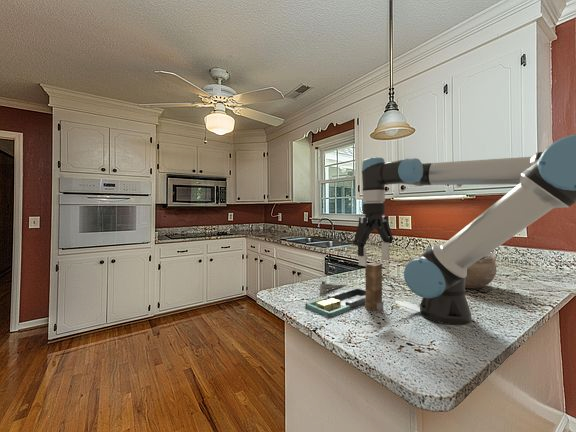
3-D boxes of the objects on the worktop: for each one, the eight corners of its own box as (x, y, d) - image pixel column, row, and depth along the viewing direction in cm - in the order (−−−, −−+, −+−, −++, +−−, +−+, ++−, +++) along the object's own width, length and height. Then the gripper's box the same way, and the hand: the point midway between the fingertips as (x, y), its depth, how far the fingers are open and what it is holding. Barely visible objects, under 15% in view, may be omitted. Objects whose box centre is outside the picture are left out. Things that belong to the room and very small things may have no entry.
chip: (340, 308, 98) (340, 300, 98) (333, 311, 95) (333, 303, 95) (332, 305, 101) (332, 297, 101) (324, 308, 99) (324, 300, 98)
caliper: (321, 297, 113) (321, 282, 113) (319, 296, 114) (319, 281, 114) (350, 287, 127) (350, 273, 126) (348, 286, 128) (348, 273, 127)
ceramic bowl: (476, 296, 110) (476, 260, 110) (429, 283, 130) (429, 252, 130) (507, 289, 119) (507, 255, 119) (458, 277, 139) (459, 248, 139)
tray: (350, 312, 95) (349, 305, 95) (329, 320, 89) (329, 313, 89) (325, 303, 105) (325, 297, 105) (305, 310, 98) (305, 303, 98)
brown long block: (384, 312, 95) (384, 264, 95) (377, 315, 93) (377, 266, 92) (370, 307, 100) (369, 262, 99) (363, 310, 98) (363, 263, 97)
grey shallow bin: (379, 301, 106) (379, 293, 106) (351, 312, 96) (351, 303, 96) (354, 294, 116) (354, 286, 115) (326, 303, 105) (326, 295, 105)
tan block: (332, 311, 96) (332, 302, 96) (324, 314, 93) (324, 305, 93) (324, 308, 99) (324, 300, 99) (316, 310, 96) (316, 302, 96)
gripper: (384, 203, 106) (385, 256, 106) (341, 203, 90) (342, 266, 91) (402, 202, 100) (403, 259, 100) (360, 202, 84) (361, 269, 85)
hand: (374, 262), depth 95 cm, fingers open, 13 cm apart
